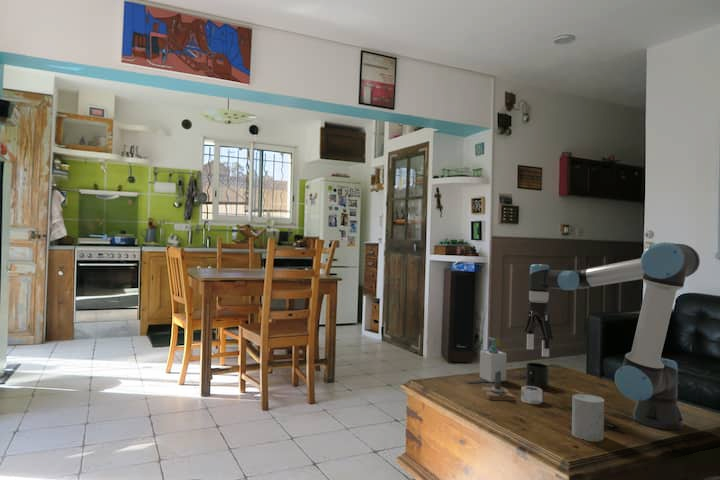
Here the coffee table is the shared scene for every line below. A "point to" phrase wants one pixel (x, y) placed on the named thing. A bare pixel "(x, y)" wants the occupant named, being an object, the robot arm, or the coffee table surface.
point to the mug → (537, 375)
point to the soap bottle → (492, 362)
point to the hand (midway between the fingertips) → (537, 352)
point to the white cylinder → (588, 417)
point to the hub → (531, 394)
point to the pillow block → (497, 390)
